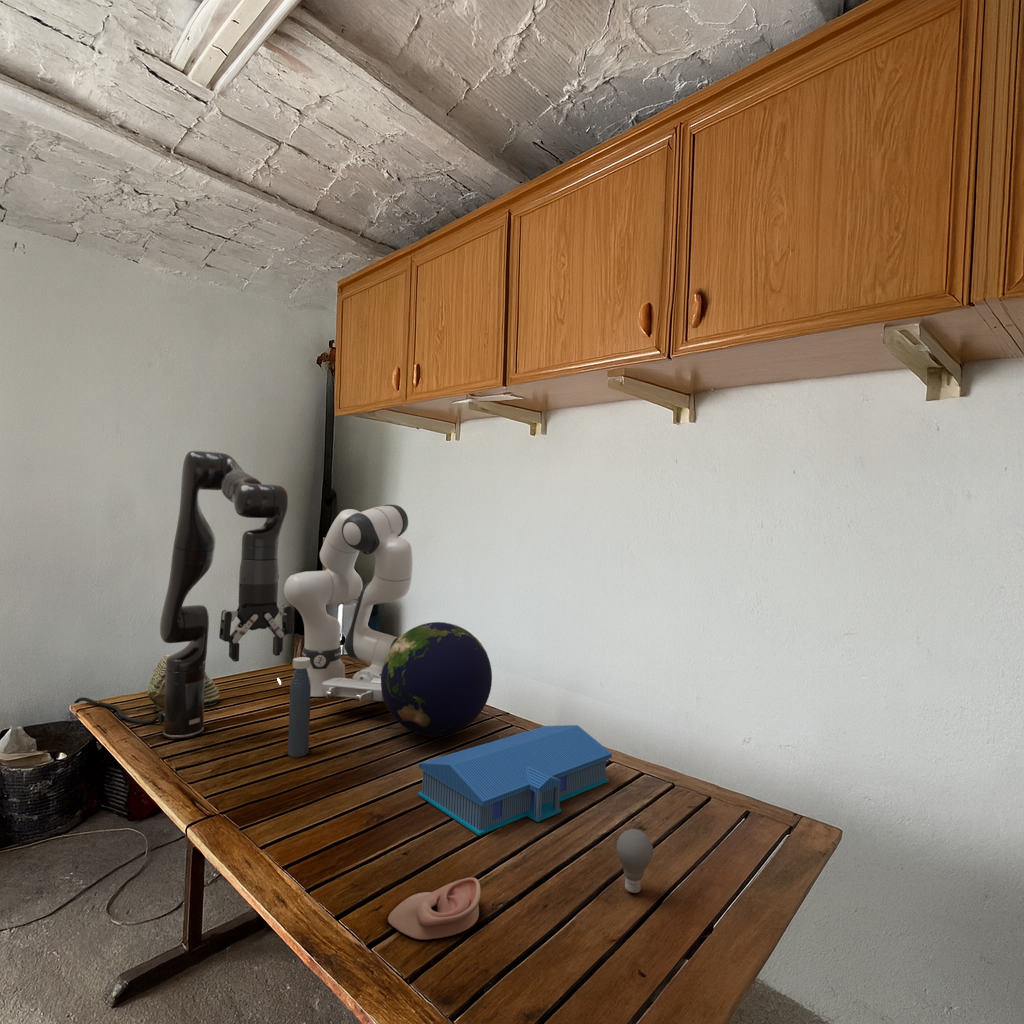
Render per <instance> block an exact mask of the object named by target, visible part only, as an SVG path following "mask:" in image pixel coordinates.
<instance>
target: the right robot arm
mask: <svg viewBox="0 0 1024 1024" xmlns="http://www.w3.org/2000/svg"><path fill="white" fill-rule="evenodd" d="M408 527H409V517H408V514H407V512H406V510H404V508H402V507H401V506H400V505H397V504H384V505H380V506H374V507H371V508H368V509H365V510H362V511H360V510H357V509H353V508H347V509H343V510H341V511H340V512H339V514H338V515H337V516H336V517H335V518H334V521H333V522H332V523H331V525H330V528H329V530H328V531H327V534H326V535H325V539H324V541H323V543H322V546H321V548H320V551H319V560H320V562H321V564H322V566H323V567H325V568H326V569H324V570H310V571H302V572H297V573H294V574H291V575H289V576H288V578H287V579H286V581H285V583H284V587H283V593H284V597H285V598H286V601H287V602H288V603H289V604H291V606H293V607H294V608H295V609H296V610H297V612H298V613H299V614H300V616H301V618H302V622H303V626H304V627H303V629H304V645H303V647H302V657H308V658H310V667H309V668H307V671H308V674H309V677H310V680H311V697H312V698H313V697H314V698H315V697H316V698H317V697H325V699H333V698H345V699H355V700H356V702H361V703H362V702H364V701H372V702H373V701H374V702H385V701H384V698H383V695H382V690H381V673H382V667H383V664H384V661H385V658H386V656H387V654H388V652H389V650H390V648H391V647H392V645H393V644H394V643H395V642H396V641H397V640H398V639H399V638H400V637H397V636H394V635H391V634H389V633H384V632H380V631H377V630H374V629H372V628H371V627H370V626H369V621H370V617H371V614H372V611H373V607H374V605H381V604H391V603H393V602H397V601H399V600H401V599H403V598H404V597H405V596H406V595H407V594H408V592H409V590H410V587H411V584H412V577H413V566H414V565H413V563H414V562H413V548H412V545H411V543H410V542H409V540H407V539H405V538H402V537H400V536H402V535H403V534H405V532H406V531H407V530H408ZM360 552H361V553H362V554H364V555H367V556H368V555H372V554H373V555H374V558H375V563H374V571H373V572H374V573H373V577H372V579H371V581H368V582H366V583H365V584H364V585H363V580H362V578H361V575H359V573H358V572H357V571H355V564H356V561H357V558H358V556H359V553H360ZM357 599H358V600H357ZM354 600H357V602H356V606H355V609H354V612H353V613H354V614H353V617H352V620H351V624H350V626H349V629H348V632H347V634H346V637H345V640H344V643H343V644H344V646H343V647H344V650H345V652H346V654H347V656H348V657H349V658H350V659H355V660H360V661H364V662H368V663H371V664H370V666H367V667H364V668H363V669H361V670H359V671H356V673H354V675H353V676H352V678H347V675H346V665H345V664H344V662H342V660H341V658H342V646H341V623H340V622H339V619H337V618H336V617H334V616H332V615H330V614H328V612H327V605H335V604H336V605H337V604H345V603H349V602H351V601H354ZM277 682H278V684H279V686H280V685H282V681H281V679H280V678H279V677H277Z"/></svg>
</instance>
